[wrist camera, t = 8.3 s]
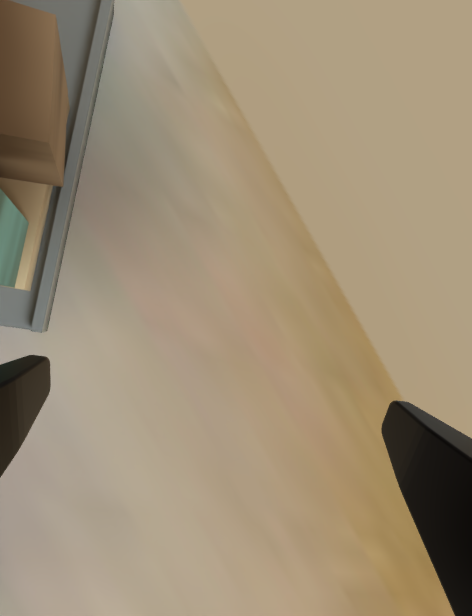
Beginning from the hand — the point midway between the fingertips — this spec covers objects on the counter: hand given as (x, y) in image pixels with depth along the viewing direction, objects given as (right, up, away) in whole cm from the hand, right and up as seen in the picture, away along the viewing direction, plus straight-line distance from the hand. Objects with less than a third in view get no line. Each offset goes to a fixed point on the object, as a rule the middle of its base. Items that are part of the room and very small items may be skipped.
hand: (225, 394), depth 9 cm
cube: (-10, +11, +7) cm, 17 cm away
